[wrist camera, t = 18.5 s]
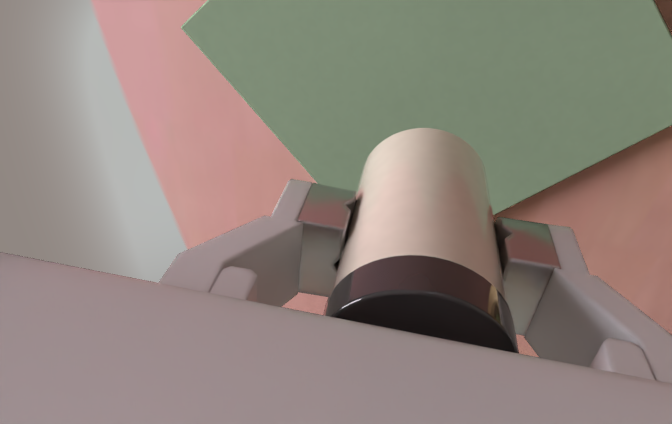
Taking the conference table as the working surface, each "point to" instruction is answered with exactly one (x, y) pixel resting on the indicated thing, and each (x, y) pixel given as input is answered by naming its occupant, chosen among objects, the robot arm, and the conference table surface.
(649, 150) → the conference table surface
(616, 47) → the sage mat
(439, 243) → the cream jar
